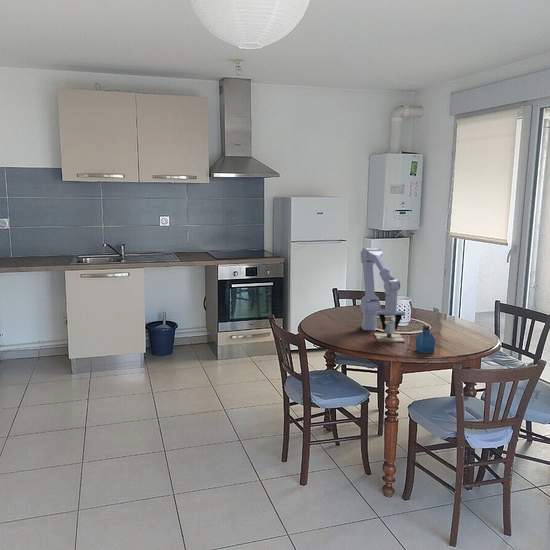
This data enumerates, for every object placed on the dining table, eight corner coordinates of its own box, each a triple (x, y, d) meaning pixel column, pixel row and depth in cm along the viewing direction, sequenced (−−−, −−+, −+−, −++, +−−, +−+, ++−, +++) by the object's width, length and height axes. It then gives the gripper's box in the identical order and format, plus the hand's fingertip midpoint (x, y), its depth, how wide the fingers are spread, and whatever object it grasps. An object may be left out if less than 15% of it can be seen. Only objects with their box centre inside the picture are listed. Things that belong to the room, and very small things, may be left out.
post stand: (374, 334, 277) (374, 323, 276) (399, 335, 277) (399, 324, 276) (378, 342, 264) (379, 330, 263) (404, 342, 264) (405, 330, 263)
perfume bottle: (422, 353, 247) (424, 328, 245) (415, 349, 253) (417, 325, 251) (434, 352, 249) (435, 327, 247) (426, 348, 255) (428, 324, 253)
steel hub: (382, 330, 273) (383, 321, 272) (393, 331, 273) (394, 321, 272) (385, 333, 267) (385, 324, 266) (395, 334, 267) (396, 324, 266)
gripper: (377, 304, 264) (376, 331, 266) (407, 305, 263) (405, 331, 266) (375, 301, 271) (374, 327, 273) (404, 302, 270) (402, 327, 273)
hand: (389, 329), depth 270 cm, fingers closed on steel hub, 5 cm apart
